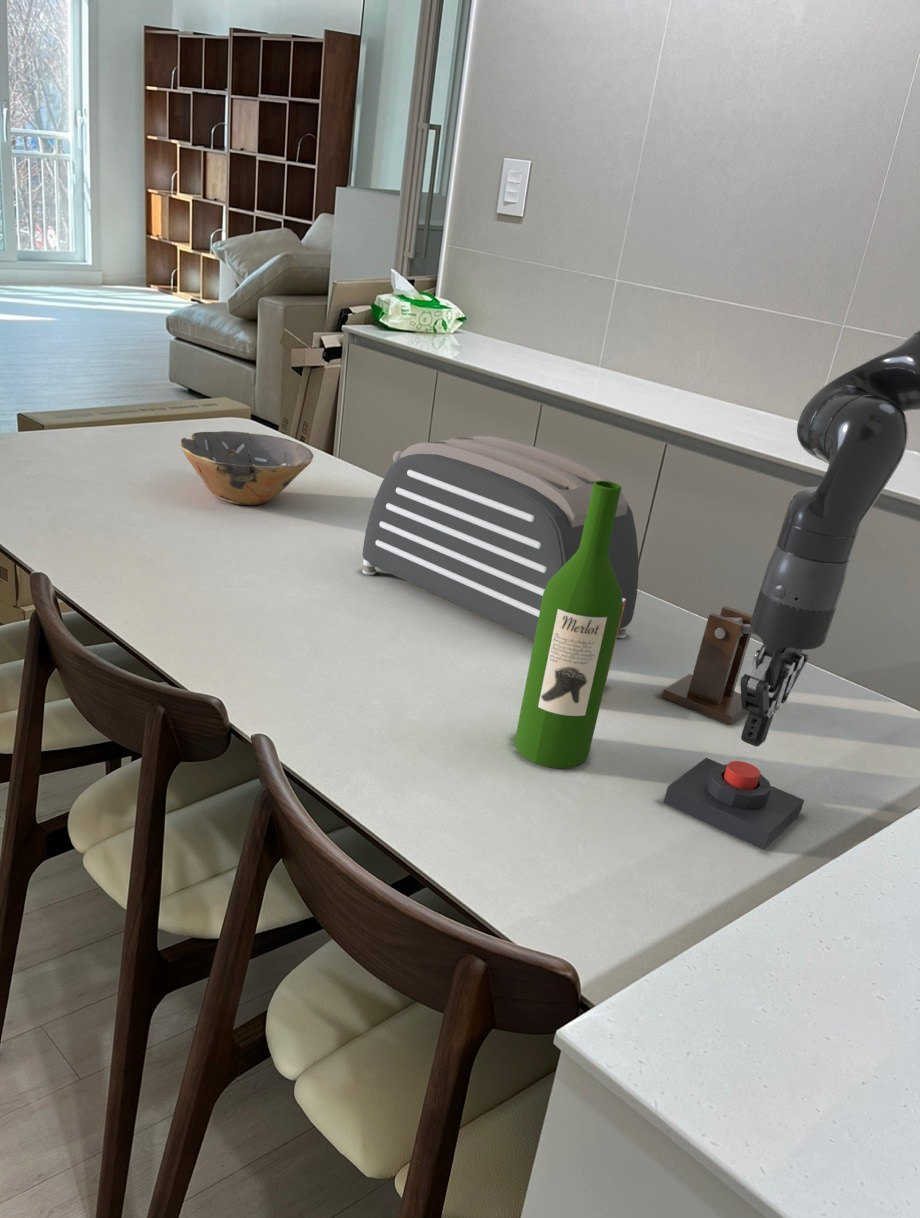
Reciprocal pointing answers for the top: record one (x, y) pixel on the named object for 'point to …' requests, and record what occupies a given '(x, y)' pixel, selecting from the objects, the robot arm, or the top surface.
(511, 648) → the top surface
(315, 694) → the top surface
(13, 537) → the top surface
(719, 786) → the control block
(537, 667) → the wine bottle
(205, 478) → the bowl
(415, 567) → the toaster
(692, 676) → the bracket
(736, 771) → the button
